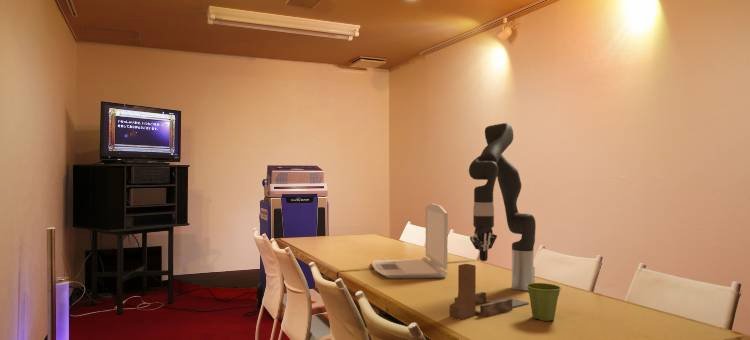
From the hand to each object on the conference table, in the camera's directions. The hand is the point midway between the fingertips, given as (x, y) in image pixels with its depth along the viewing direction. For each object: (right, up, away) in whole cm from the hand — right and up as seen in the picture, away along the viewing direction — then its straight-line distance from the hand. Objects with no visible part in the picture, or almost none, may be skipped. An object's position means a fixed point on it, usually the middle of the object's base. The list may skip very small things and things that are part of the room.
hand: (483, 260), depth 185 cm
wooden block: (-10, -18, -10) cm, 23 cm away
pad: (+12, -18, +9) cm, 23 cm away
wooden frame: (0, -18, 0) cm, 18 cm away
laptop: (-25, -19, +71) cm, 78 cm away
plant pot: (+19, -18, -11) cm, 28 cm away
